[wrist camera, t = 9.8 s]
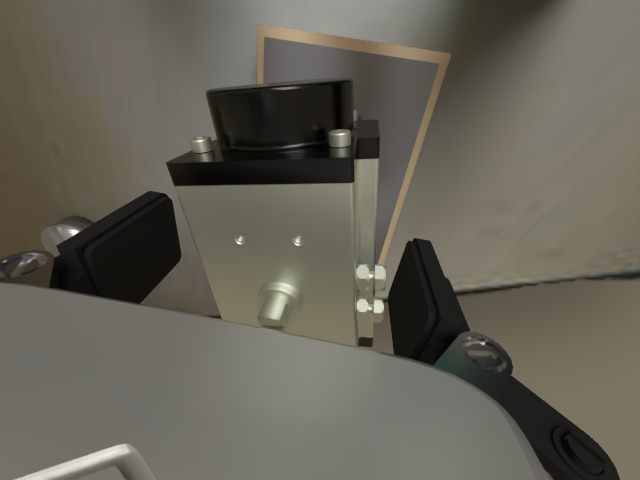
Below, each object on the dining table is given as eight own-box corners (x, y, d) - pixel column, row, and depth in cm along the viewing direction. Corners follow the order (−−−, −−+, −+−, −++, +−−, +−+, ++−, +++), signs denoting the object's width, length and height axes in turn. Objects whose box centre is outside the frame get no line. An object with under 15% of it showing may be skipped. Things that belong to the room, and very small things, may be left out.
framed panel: (267, 236, 25) (253, 258, 22) (274, 30, 17) (254, 23, 14) (377, 258, 24) (378, 284, 22) (439, 55, 16) (453, 53, 14)
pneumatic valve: (301, 255, 21) (238, 424, 11) (278, 80, 15) (98, 103, 5) (375, 257, 20) (378, 444, 10) (381, 71, 14) (404, 78, 4)
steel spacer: (75, 251, 30) (52, 265, 28) (57, 211, 28) (31, 222, 26) (117, 260, 30) (98, 275, 28) (104, 220, 27) (82, 233, 25)
